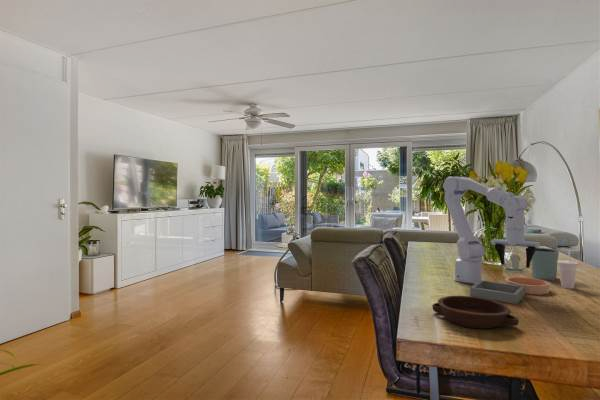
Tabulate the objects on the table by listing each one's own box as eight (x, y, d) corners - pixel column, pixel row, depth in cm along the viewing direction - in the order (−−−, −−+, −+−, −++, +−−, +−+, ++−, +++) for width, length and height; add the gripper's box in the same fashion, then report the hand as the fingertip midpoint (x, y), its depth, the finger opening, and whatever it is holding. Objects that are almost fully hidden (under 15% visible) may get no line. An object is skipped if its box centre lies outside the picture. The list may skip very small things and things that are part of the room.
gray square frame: (470, 295, 120) (470, 287, 120) (481, 287, 131) (481, 280, 131) (516, 304, 111) (516, 294, 111) (525, 294, 121) (525, 286, 121)
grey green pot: (547, 274, 151) (547, 247, 151) (565, 280, 141) (565, 251, 141) (524, 275, 151) (524, 247, 151) (540, 280, 141) (540, 251, 141)
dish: (516, 341, 83) (516, 321, 83) (423, 322, 96) (423, 305, 96) (520, 320, 97) (520, 302, 97) (439, 306, 110) (439, 290, 110)
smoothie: (582, 289, 127) (582, 252, 126) (562, 289, 128) (562, 251, 128) (572, 285, 133) (572, 249, 133) (553, 284, 134) (553, 249, 134)
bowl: (501, 289, 128) (501, 281, 128) (510, 282, 138) (510, 275, 138) (546, 296, 119) (546, 287, 119) (551, 288, 129) (551, 280, 129)
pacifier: (524, 275, 120) (528, 271, 124) (524, 257, 120) (528, 254, 124) (500, 272, 125) (505, 268, 129) (500, 255, 125) (505, 252, 129)
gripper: (489, 228, 127) (490, 264, 127) (536, 230, 117) (536, 270, 117) (495, 227, 132) (495, 262, 132) (540, 229, 122) (540, 267, 122)
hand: (515, 265), depth 125 cm, fingers closed on pacifier, 7 cm apart
